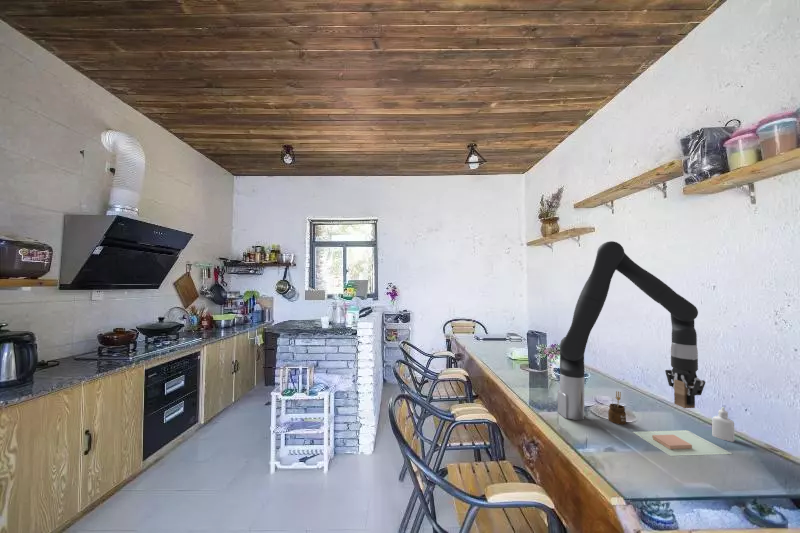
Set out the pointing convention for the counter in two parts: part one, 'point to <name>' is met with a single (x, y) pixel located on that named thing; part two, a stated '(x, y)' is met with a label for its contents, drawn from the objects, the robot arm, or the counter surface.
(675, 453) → the mat
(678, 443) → the tile
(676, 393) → the block
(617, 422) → the utensil holder
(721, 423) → the eye dropper bottle
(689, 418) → the counter surface
